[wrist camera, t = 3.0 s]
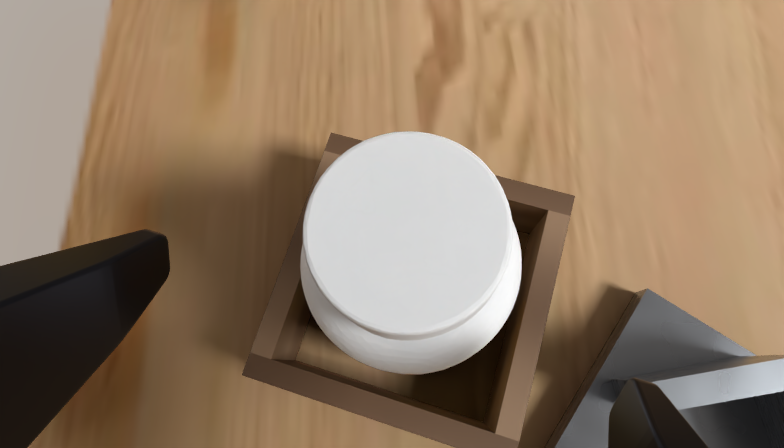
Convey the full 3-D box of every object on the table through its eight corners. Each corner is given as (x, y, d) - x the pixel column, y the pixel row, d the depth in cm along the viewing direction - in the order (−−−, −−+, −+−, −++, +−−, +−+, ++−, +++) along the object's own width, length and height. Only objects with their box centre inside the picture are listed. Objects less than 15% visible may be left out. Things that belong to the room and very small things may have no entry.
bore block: (498, 449, 17) (513, 467, 14) (270, 373, 18) (241, 374, 15) (551, 221, 19) (574, 195, 16) (344, 165, 20) (331, 132, 17)
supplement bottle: (334, 238, 19) (251, 121, 10) (471, 215, 19) (516, 75, 10) (352, 382, 18) (276, 401, 9) (502, 358, 18) (587, 350, 8)
